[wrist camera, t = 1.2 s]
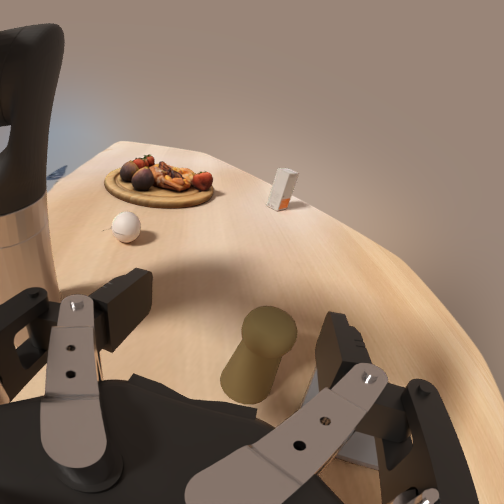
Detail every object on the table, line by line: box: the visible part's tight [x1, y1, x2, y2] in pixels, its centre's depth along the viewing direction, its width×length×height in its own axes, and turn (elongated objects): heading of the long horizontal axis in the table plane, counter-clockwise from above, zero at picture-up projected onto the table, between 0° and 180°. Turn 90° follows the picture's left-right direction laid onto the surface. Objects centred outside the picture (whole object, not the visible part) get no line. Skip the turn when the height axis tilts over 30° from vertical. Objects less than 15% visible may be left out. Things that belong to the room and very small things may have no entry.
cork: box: [220, 306, 297, 404], centre depth 27 cm, size 6×6×11 cm
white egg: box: [103, 212, 141, 243], centre depth 45 cm, size 8×6×6 cm
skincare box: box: [266, 168, 299, 211], centre depth 80 cm, size 6×4×12 cm
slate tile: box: [299, 366, 379, 470], centre depth 27 cm, size 15×13×1 cm
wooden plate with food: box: [104, 155, 213, 208], centre depth 72 cm, size 32×32×8 cm
